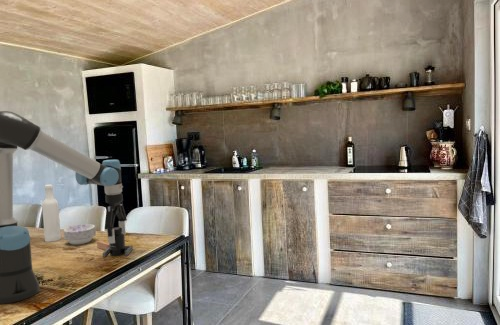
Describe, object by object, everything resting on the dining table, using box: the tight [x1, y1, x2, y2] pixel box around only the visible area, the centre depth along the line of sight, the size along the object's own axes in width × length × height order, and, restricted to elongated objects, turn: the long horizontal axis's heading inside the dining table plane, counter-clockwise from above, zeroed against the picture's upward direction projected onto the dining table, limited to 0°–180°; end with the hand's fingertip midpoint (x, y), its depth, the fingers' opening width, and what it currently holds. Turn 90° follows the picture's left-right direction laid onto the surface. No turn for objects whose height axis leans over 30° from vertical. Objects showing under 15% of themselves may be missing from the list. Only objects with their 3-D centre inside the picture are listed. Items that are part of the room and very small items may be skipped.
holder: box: [96, 240, 134, 258], centre depth 184 cm, size 19×18×3 cm
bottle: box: [41, 184, 62, 243], centre depth 208 cm, size 8×8×30 cm
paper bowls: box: [63, 223, 97, 246], centre depth 202 cm, size 15×15×8 cm
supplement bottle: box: [109, 226, 126, 257], centre depth 179 cm, size 7×7×12 cm
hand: (117, 238), depth 179 cm, fingers open, 13 cm apart
